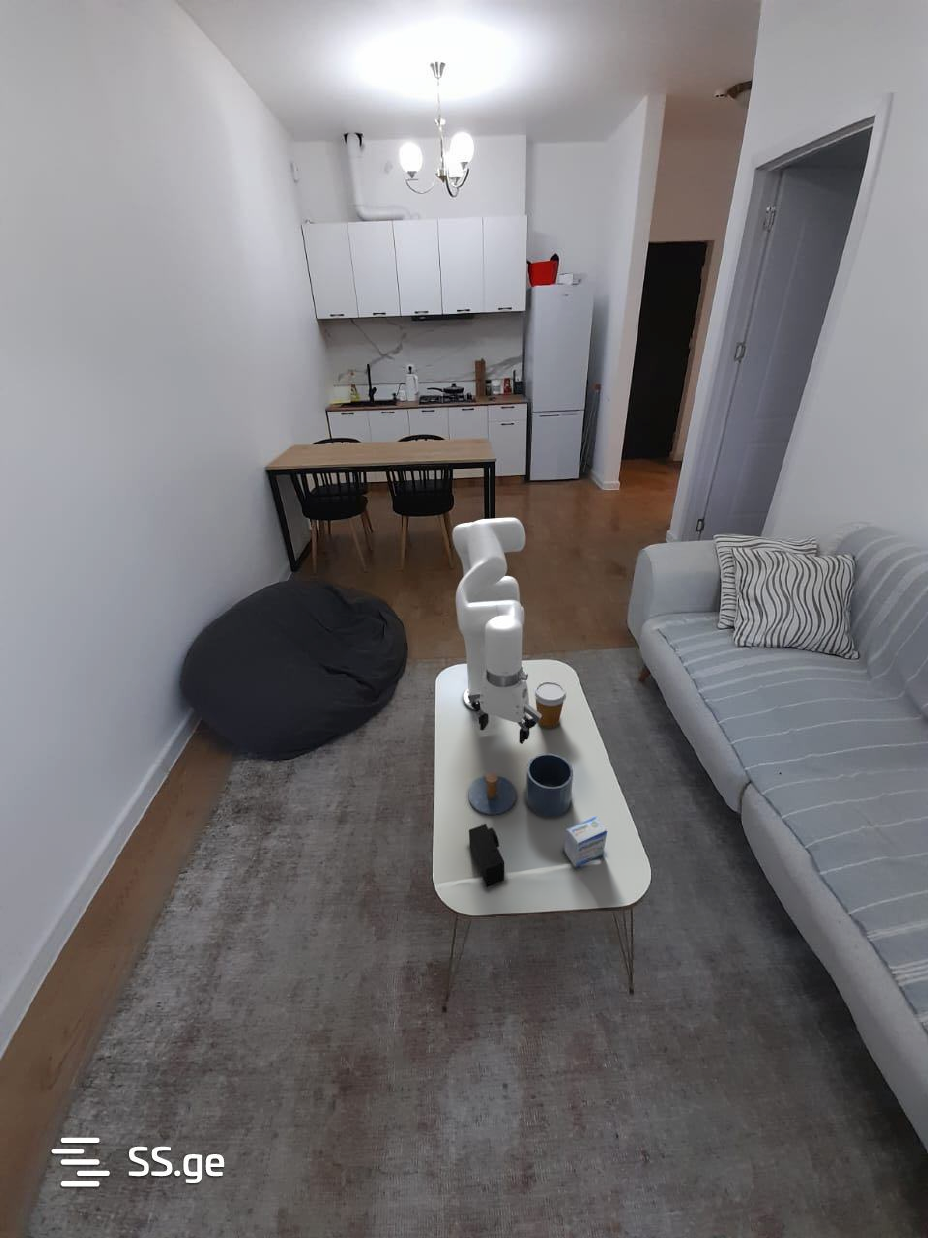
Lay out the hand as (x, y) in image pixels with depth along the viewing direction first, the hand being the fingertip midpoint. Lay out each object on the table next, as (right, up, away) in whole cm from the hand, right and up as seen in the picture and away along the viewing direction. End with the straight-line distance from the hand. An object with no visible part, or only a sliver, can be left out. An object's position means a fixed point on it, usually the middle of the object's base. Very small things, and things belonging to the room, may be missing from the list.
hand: (503, 733), depth 113 cm
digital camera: (-3, -30, +1) cm, 30 cm away
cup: (+13, -20, +15) cm, 28 cm away
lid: (-2, -20, +16) cm, 25 cm away
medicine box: (+19, -28, +2) cm, 34 cm away
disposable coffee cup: (+17, -6, +39) cm, 43 cm away
